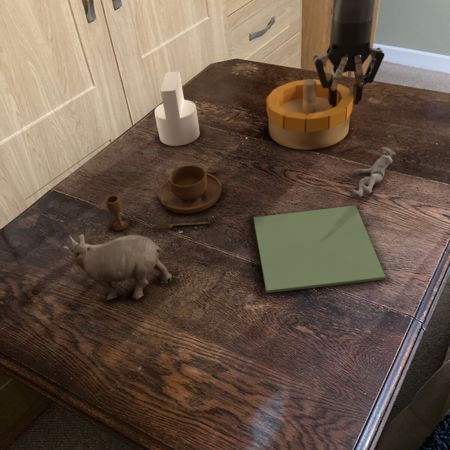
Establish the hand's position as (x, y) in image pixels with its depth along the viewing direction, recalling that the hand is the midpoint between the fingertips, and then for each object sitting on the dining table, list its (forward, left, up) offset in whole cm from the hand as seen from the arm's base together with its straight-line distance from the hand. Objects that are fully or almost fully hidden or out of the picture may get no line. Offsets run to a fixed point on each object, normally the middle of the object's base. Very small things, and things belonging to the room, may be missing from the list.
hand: (344, 103), depth 103 cm
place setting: (+37, +20, -5) cm, 43 cm away
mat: (+13, +38, -5) cm, 41 cm away
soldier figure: (-1, +22, -5) cm, 23 cm away
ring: (+7, 0, -1) cm, 7 cm away
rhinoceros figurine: (+45, +41, -5) cm, 61 cm away
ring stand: (+7, 0, -5) cm, 9 cm away
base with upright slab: (+35, -4, -5) cm, 36 cm away
